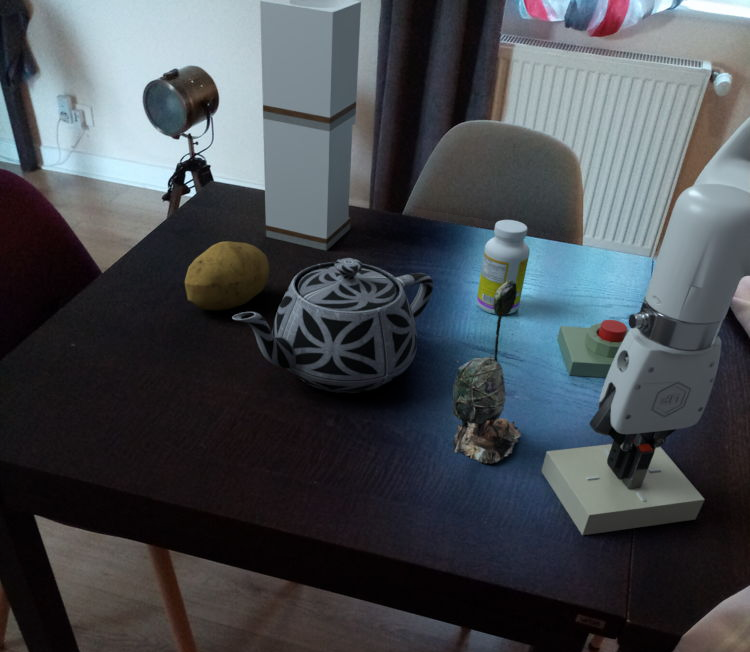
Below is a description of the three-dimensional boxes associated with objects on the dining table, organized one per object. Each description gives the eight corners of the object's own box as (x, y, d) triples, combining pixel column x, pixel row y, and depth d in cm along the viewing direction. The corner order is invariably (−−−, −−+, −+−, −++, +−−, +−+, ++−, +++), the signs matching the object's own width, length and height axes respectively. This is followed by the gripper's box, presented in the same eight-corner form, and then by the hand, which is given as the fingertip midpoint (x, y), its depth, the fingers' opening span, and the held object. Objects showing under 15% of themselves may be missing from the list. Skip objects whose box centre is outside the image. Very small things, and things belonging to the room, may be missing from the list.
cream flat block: (646, 458, 95) (654, 437, 93) (695, 519, 87) (705, 498, 85) (541, 471, 92) (546, 450, 90) (582, 535, 84) (589, 514, 82)
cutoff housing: (636, 344, 116) (644, 319, 114) (654, 380, 109) (663, 356, 106) (557, 338, 116) (563, 314, 113) (569, 375, 108) (575, 350, 106)
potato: (166, 240, 110) (198, 259, 105) (247, 227, 117) (282, 244, 112) (172, 305, 116) (203, 326, 110) (250, 288, 123) (283, 307, 117)
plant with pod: (422, 441, 95) (443, 289, 81) (491, 413, 100) (521, 266, 87) (467, 478, 90) (496, 322, 77) (536, 447, 95) (575, 296, 82)
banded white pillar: (350, 228, 141) (361, 1, 117) (326, 250, 133) (332, 12, 110) (292, 215, 143) (292, -9, 120) (266, 236, 136) (260, 0, 112)
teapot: (201, 368, 103) (191, 260, 93) (383, 311, 118) (391, 213, 108) (278, 442, 93) (276, 329, 83) (468, 369, 108) (485, 266, 98)
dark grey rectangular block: (607, 461, 89) (619, 424, 86) (619, 459, 89) (632, 422, 86) (628, 489, 86) (642, 451, 82) (641, 487, 86) (655, 450, 82)
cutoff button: (620, 331, 111) (623, 320, 110) (626, 344, 108) (629, 333, 107) (595, 329, 111) (598, 318, 110) (600, 342, 108) (604, 331, 107)
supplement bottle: (510, 295, 125) (526, 216, 117) (523, 316, 120) (541, 235, 112) (470, 296, 124) (483, 216, 115) (482, 317, 119) (496, 235, 111)
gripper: (624, 348, 70) (575, 500, 83) (772, 336, 74) (705, 484, 86) (587, 308, 76) (546, 457, 88) (727, 299, 79) (669, 443, 92)
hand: (625, 469), depth 87 cm, fingers closed on dark grey rectangular block
